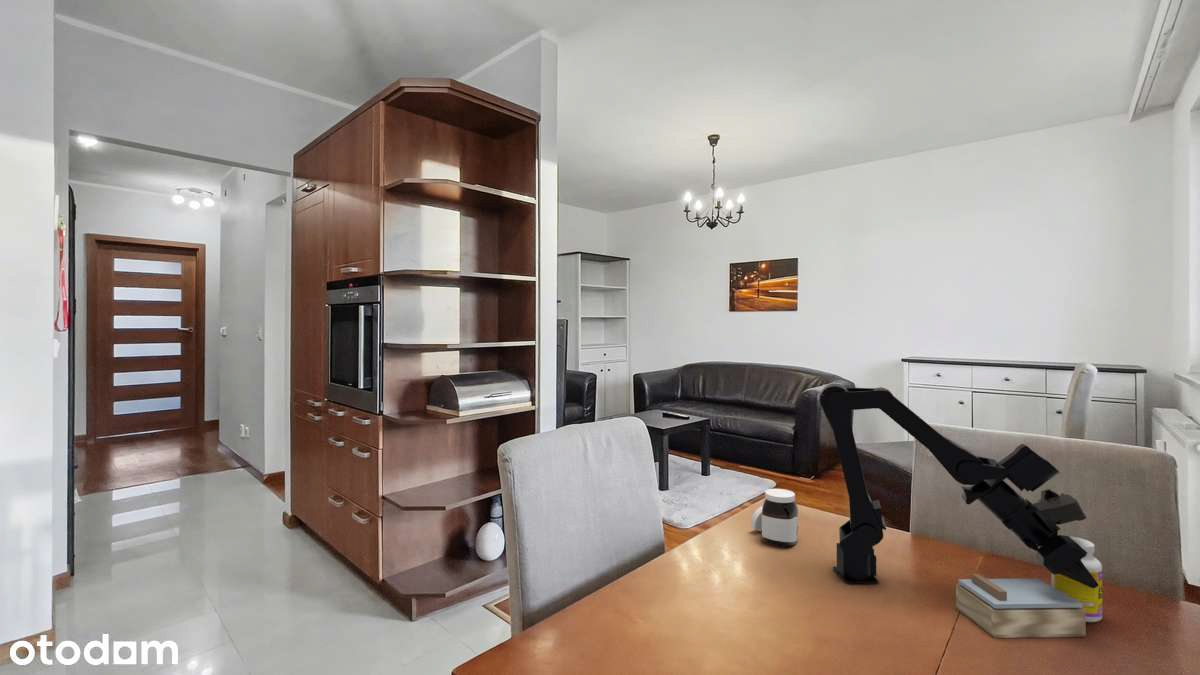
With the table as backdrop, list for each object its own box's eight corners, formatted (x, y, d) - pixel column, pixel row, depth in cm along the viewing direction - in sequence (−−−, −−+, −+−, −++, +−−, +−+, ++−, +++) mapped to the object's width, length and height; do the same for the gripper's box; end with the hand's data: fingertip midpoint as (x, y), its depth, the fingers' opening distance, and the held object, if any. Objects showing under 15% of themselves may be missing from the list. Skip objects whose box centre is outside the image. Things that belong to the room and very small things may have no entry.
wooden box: (994, 637, 84) (994, 611, 84) (956, 608, 93) (955, 584, 93) (1085, 636, 85) (1085, 610, 84) (1038, 607, 94) (1038, 583, 93)
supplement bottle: (1107, 628, 87) (1107, 552, 87) (1055, 617, 90) (1055, 543, 90) (1096, 609, 93) (1096, 538, 93) (1048, 600, 96) (1047, 531, 96)
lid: (995, 608, 85) (995, 595, 85) (958, 583, 93) (958, 571, 93) (1082, 607, 85) (1082, 594, 85) (1037, 582, 93) (1037, 570, 93)
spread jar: (791, 552, 118) (791, 501, 118) (742, 541, 124) (742, 493, 124) (803, 534, 128) (802, 487, 128) (757, 525, 134) (757, 481, 134)
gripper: (1070, 494, 84) (1161, 574, 80) (1029, 467, 101) (1102, 531, 97) (1011, 535, 88) (1095, 614, 83) (980, 502, 105) (1049, 565, 100)
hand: (1086, 577), depth 91 cm, fingers closed on supplement bottle, 7 cm apart
